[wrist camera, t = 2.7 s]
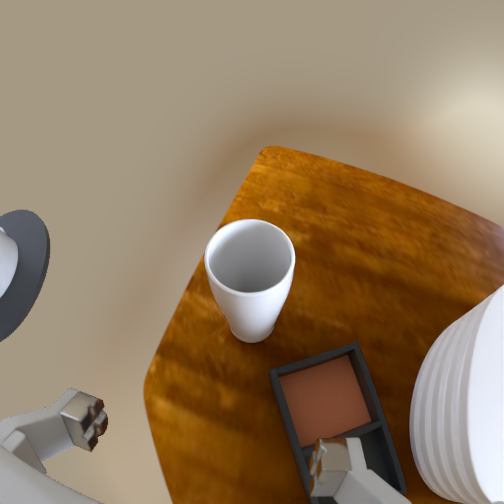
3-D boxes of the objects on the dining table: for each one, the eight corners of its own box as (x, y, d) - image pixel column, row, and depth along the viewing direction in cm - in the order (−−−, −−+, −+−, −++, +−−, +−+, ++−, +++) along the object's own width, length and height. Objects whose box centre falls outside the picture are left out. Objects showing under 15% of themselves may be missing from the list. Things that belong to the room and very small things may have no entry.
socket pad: (315, 522, 21) (321, 530, 19) (267, 374, 31) (269, 369, 29) (396, 488, 23) (408, 492, 20) (349, 348, 33) (357, 340, 30)
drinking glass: (210, 324, 34) (183, 258, 22) (248, 285, 37) (245, 203, 24) (255, 362, 32) (254, 316, 19) (292, 318, 35) (314, 249, 22)
